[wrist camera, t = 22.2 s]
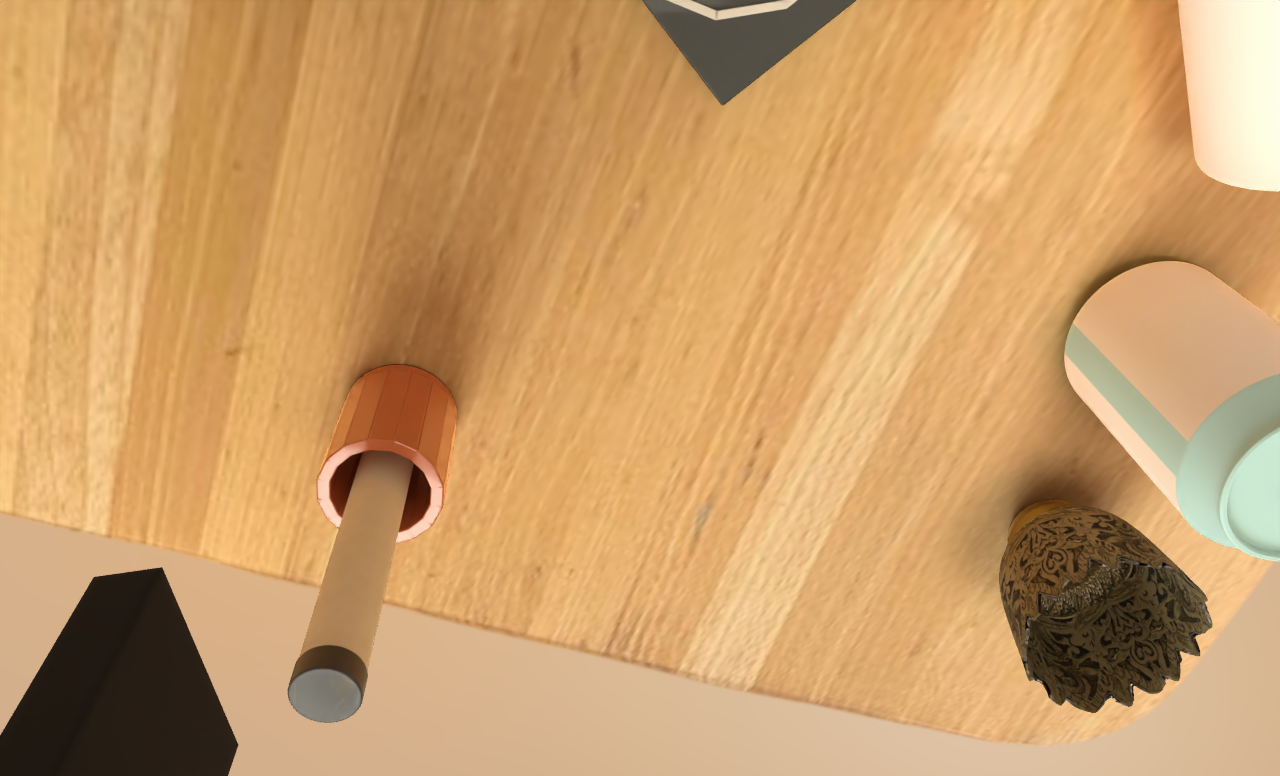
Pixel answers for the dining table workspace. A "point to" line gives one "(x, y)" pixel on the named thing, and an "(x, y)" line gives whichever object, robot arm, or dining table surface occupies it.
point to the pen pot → (393, 441)
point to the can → (1188, 395)
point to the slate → (740, 35)
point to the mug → (1234, 89)
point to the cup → (1096, 605)
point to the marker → (352, 592)
